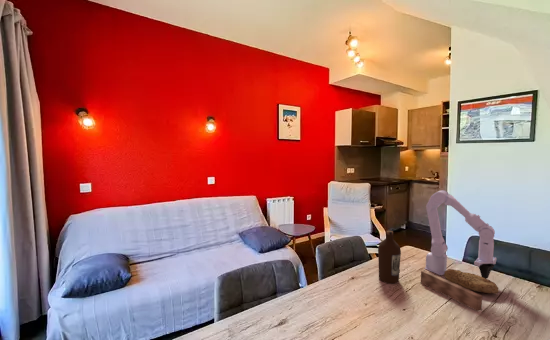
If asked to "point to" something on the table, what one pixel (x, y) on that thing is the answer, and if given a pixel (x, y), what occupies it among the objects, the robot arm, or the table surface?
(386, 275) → the olive oil
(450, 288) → the walnut board
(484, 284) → the brown oblong lump
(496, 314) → the table surface
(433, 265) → the robot arm
